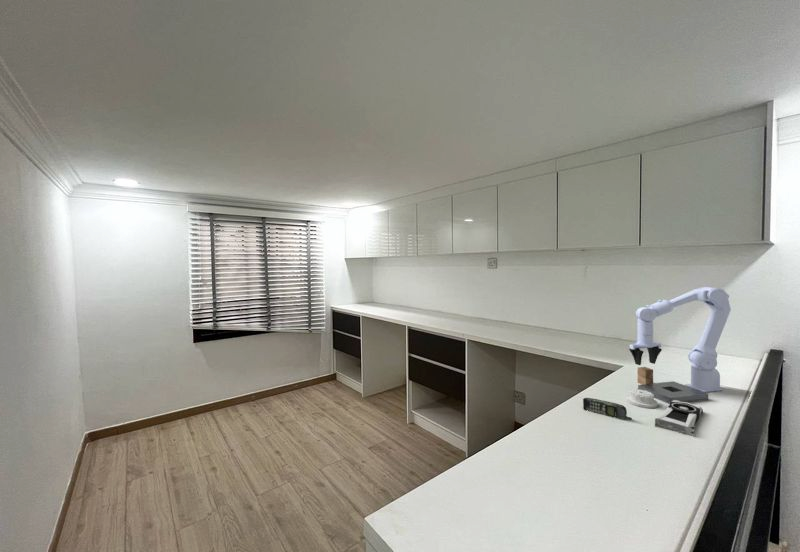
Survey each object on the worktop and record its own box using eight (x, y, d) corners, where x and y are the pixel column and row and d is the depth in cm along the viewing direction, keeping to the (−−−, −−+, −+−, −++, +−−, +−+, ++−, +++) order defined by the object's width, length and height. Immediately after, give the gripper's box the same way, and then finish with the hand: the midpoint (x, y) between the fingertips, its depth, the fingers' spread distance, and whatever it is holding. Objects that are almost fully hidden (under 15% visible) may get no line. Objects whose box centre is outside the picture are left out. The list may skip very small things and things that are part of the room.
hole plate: (673, 386, 143) (673, 381, 143) (708, 399, 129) (708, 393, 129) (638, 390, 140) (638, 385, 140) (670, 404, 126) (670, 398, 126)
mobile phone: (582, 398, 123) (630, 408, 113) (584, 395, 125) (631, 404, 116) (582, 411, 123) (631, 422, 114) (584, 408, 126) (631, 418, 116)
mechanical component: (633, 408, 124) (663, 409, 122) (633, 396, 124) (663, 398, 122) (621, 397, 134) (648, 398, 132) (621, 387, 134) (649, 388, 132)
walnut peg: (645, 381, 150) (645, 366, 149) (653, 384, 146) (653, 369, 145) (637, 382, 149) (637, 367, 149) (645, 385, 145) (645, 370, 145)
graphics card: (654, 418, 110) (671, 397, 126) (654, 428, 110) (671, 405, 126) (694, 429, 102) (707, 405, 118) (694, 439, 102) (707, 414, 118)
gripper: (650, 331, 152) (650, 360, 152) (623, 333, 149) (623, 362, 150) (665, 334, 145) (665, 364, 145) (637, 336, 142) (637, 367, 143)
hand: (645, 363), depth 147 cm, fingers open, 7 cm apart
